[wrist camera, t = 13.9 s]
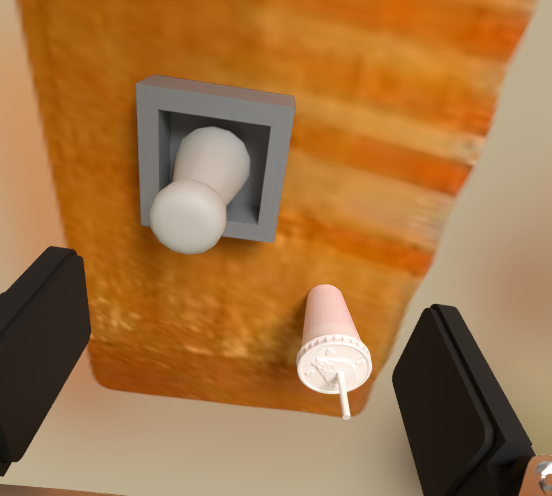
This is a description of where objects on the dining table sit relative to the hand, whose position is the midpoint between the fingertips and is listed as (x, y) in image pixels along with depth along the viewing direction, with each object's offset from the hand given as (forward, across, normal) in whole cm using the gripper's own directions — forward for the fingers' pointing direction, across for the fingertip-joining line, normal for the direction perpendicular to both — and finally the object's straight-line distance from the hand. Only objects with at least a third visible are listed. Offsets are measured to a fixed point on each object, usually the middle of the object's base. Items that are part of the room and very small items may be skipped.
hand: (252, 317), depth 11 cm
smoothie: (+24, -8, +18) cm, 31 cm away
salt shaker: (+24, +4, +4) cm, 24 cm away
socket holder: (+24, +4, +4) cm, 25 cm away
